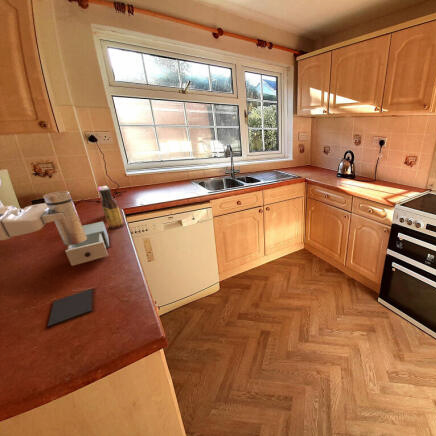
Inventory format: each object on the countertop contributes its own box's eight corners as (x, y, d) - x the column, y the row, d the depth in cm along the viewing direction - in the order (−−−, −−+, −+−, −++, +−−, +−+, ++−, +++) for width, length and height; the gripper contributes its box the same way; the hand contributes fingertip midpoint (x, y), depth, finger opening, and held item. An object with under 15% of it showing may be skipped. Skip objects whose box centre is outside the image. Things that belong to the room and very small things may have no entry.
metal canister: (63, 247, 80) (41, 198, 73) (64, 240, 85) (44, 193, 78) (87, 241, 83) (68, 193, 77) (87, 235, 88) (69, 189, 82)
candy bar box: (106, 214, 142) (96, 186, 135) (116, 212, 145) (107, 185, 138) (107, 219, 134) (97, 190, 127) (118, 217, 136) (109, 188, 130)
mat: (48, 327, 63) (47, 326, 63) (54, 302, 72) (53, 301, 72) (91, 311, 68) (91, 310, 68) (92, 289, 77) (91, 288, 77)
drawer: (108, 257, 94) (103, 243, 92) (71, 267, 88) (64, 252, 85) (107, 244, 104) (102, 231, 102) (73, 252, 98) (68, 239, 96)
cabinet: (109, 247, 103) (103, 230, 100) (72, 256, 97) (65, 239, 94) (108, 236, 113) (103, 221, 110) (74, 244, 106) (68, 228, 104)
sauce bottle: (108, 226, 124) (95, 188, 117) (123, 223, 128) (111, 186, 120) (110, 230, 120) (96, 191, 112) (124, 226, 123) (112, 188, 116)
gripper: (27, 219, 84) (77, 211, 90) (-2, 243, 67) (62, 231, 73) (18, 201, 81) (71, 194, 87) (-14, 222, 65) (54, 211, 71)
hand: (67, 211), depth 80 cm, fingers closed on metal canister, 6 cm apart
